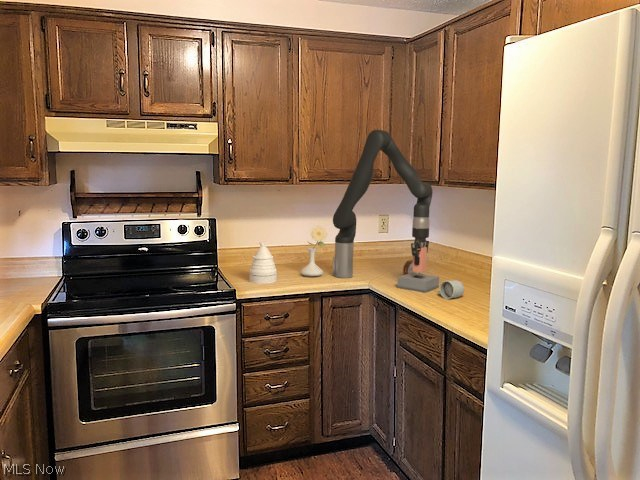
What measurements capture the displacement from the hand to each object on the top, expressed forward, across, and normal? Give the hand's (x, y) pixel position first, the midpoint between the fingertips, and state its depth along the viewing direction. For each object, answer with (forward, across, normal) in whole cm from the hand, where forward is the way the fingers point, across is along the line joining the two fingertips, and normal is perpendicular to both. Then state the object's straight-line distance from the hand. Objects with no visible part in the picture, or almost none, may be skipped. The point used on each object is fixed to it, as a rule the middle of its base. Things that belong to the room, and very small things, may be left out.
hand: (419, 263), depth 244 cm
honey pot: (+11, +36, -63) cm, 73 cm away
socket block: (+11, 0, 0) cm, 11 cm away
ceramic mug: (+12, +8, +18) cm, 23 cm away
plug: (+3, 0, 0) cm, 3 cm away
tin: (+11, -22, -14) cm, 28 cm away
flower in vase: (+11, +11, -52) cm, 54 cm away
